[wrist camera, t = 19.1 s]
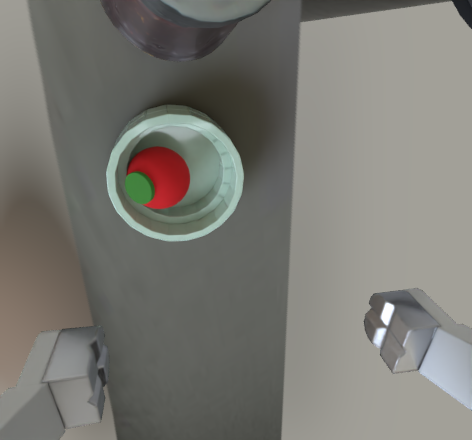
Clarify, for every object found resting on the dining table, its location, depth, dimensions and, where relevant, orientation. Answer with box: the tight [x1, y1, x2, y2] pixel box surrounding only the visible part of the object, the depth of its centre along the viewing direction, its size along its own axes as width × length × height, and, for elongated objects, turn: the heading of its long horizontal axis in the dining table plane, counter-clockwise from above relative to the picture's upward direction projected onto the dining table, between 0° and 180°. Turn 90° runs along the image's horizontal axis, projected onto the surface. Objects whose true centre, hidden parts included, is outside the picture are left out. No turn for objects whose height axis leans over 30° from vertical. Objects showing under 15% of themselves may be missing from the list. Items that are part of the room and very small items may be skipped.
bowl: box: [106, 105, 244, 241], centre depth 26 cm, size 10×10×4 cm
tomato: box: [125, 146, 190, 209], centre depth 26 cm, size 5×5×5 cm
